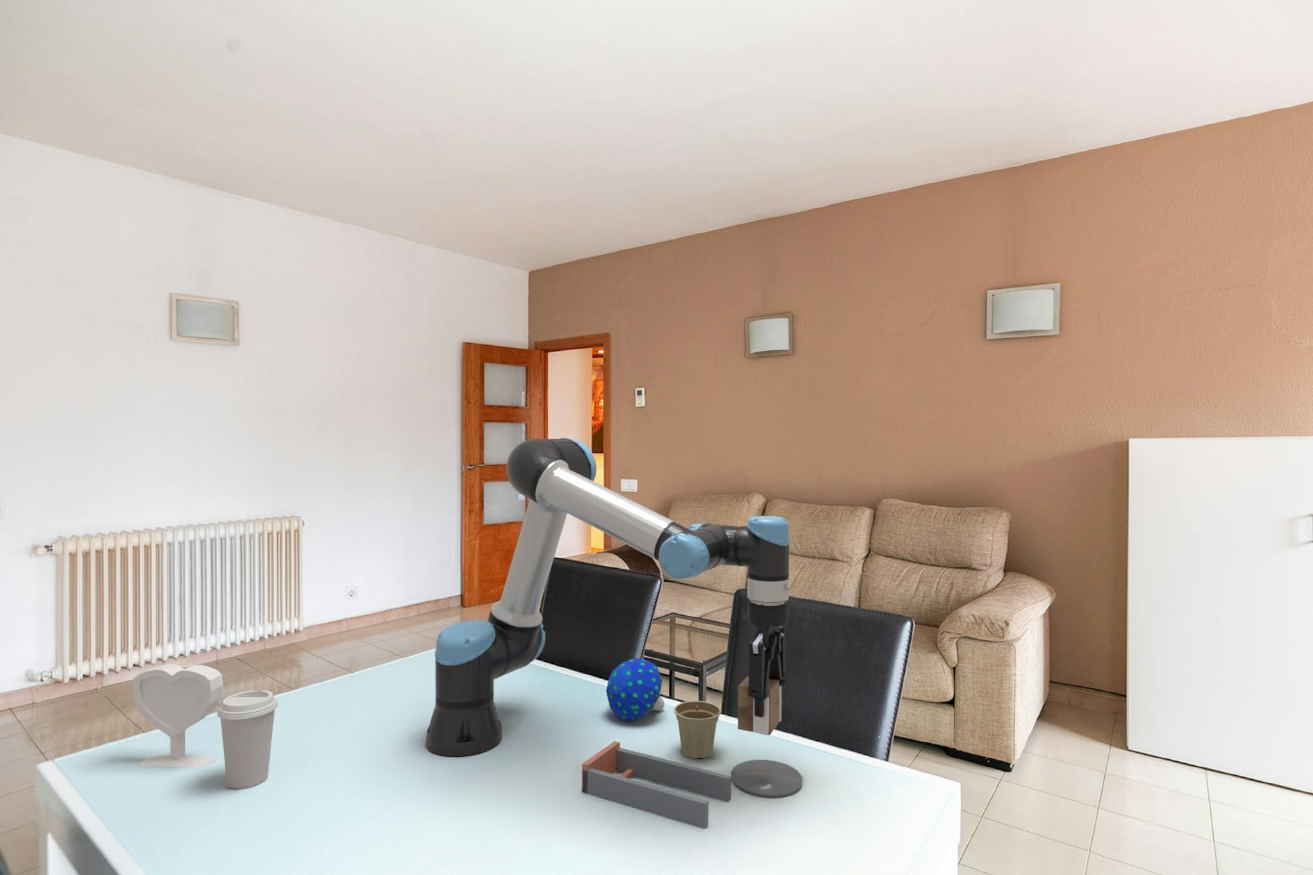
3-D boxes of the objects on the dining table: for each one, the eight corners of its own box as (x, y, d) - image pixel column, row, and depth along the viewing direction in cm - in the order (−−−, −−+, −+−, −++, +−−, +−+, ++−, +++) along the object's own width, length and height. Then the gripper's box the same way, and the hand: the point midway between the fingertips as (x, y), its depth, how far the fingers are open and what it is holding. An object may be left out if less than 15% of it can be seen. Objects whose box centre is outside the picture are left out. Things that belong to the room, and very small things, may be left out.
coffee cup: (289, 772, 132) (290, 692, 132) (244, 797, 123) (245, 710, 123) (250, 764, 135) (251, 685, 135) (203, 787, 126) (204, 703, 126)
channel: (581, 791, 126) (582, 763, 126) (614, 767, 135) (614, 740, 135) (705, 828, 114) (705, 797, 114) (731, 798, 124) (731, 770, 124)
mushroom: (691, 678, 163) (647, 647, 156) (671, 739, 155) (624, 710, 148) (651, 675, 173) (608, 646, 166) (630, 733, 165) (584, 705, 159)
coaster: (719, 786, 128) (719, 782, 128) (746, 758, 140) (746, 754, 140) (789, 805, 122) (789, 800, 122) (811, 773, 133) (811, 769, 133)
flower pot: (717, 765, 136) (718, 720, 136) (669, 760, 138) (670, 716, 138) (723, 744, 146) (723, 702, 146) (677, 740, 148) (678, 698, 148)
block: (737, 729, 130) (738, 685, 130) (747, 717, 136) (748, 675, 136) (769, 735, 128) (770, 690, 128) (778, 723, 133) (778, 680, 133)
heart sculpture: (128, 765, 134) (129, 670, 134) (148, 753, 139) (149, 661, 139) (207, 768, 133) (208, 672, 133) (225, 756, 138) (226, 664, 138)
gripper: (770, 614, 121) (769, 750, 121) (803, 593, 137) (802, 712, 137) (729, 609, 124) (728, 741, 124) (766, 589, 141) (765, 705, 141)
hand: (767, 725), depth 131 cm, fingers closed on block, 6 cm apart
